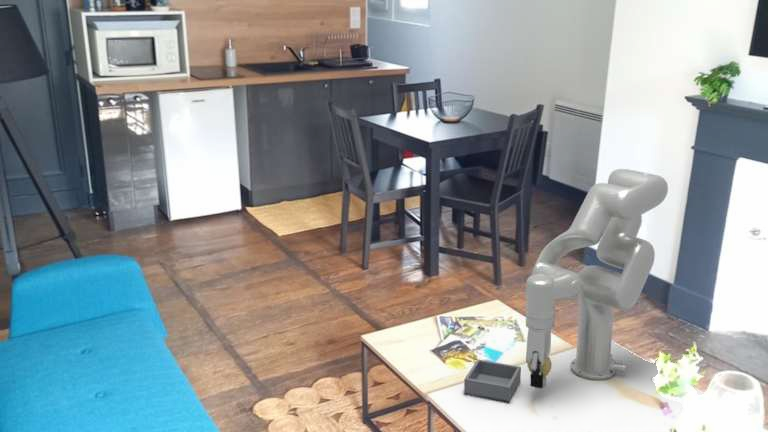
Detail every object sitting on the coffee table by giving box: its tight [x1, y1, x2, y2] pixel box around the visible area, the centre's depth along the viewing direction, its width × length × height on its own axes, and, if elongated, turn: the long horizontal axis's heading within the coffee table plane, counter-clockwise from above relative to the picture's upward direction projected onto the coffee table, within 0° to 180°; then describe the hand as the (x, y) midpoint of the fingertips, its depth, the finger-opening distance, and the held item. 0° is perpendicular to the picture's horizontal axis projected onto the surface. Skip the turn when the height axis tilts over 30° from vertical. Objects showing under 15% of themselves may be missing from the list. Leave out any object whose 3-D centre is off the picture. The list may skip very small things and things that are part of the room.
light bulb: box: [527, 356, 553, 390], centre depth 197 cm, size 6×6×10 cm
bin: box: [463, 359, 522, 404], centre depth 201 cm, size 13×13×5 cm
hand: (539, 380), depth 197 cm, fingers closed on light bulb, 6 cm apart
